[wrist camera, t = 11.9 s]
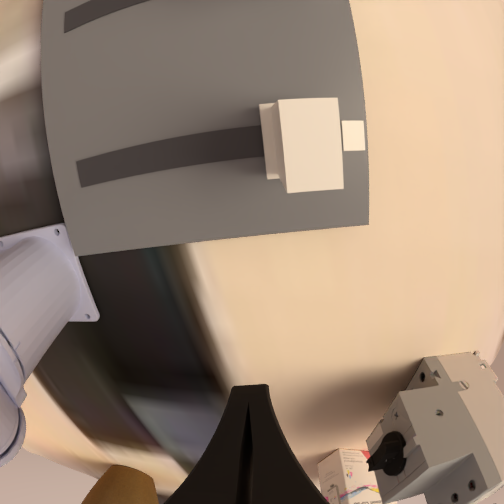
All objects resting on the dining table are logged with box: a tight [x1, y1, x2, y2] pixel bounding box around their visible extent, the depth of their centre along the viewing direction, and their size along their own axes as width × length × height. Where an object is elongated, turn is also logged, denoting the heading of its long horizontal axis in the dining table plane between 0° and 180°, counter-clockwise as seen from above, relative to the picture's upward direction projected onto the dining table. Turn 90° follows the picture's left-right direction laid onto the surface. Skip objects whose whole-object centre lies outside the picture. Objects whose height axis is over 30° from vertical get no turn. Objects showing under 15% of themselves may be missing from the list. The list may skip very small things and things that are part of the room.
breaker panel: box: [41, 0, 369, 256], centre depth 13 cm, size 18×20×2 cm
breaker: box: [259, 98, 344, 193], centre depth 11 cm, size 3×4×5 cm
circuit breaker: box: [366, 351, 504, 504], centre depth 18 cm, size 8×14×15 cm, turn 85°
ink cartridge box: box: [318, 449, 397, 504], centre depth 24 cm, size 9×5×15 cm, turn 64°
